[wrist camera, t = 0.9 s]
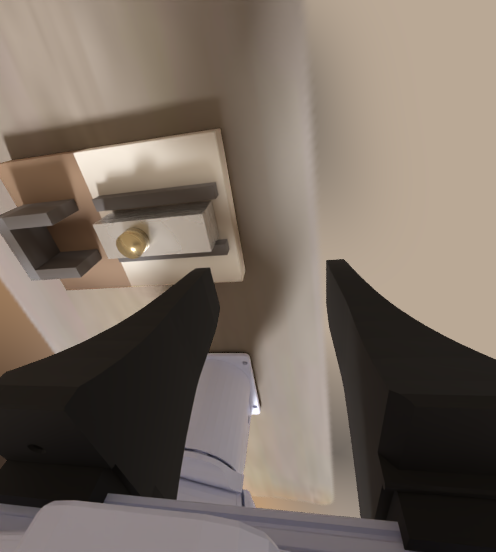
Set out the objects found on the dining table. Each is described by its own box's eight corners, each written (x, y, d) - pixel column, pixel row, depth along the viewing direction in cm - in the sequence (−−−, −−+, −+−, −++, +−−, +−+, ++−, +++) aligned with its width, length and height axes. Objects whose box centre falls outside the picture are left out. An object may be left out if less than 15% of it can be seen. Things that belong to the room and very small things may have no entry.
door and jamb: (245, 270, 22) (237, 303, 19) (77, 280, 25) (44, 310, 22) (220, 128, 17) (202, 138, 14) (11, 160, 20) (-47, 175, 16)
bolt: (219, 235, 19) (207, 259, 17) (124, 243, 20) (99, 266, 18) (211, 201, 18) (197, 220, 15) (111, 211, 19) (82, 231, 17)
